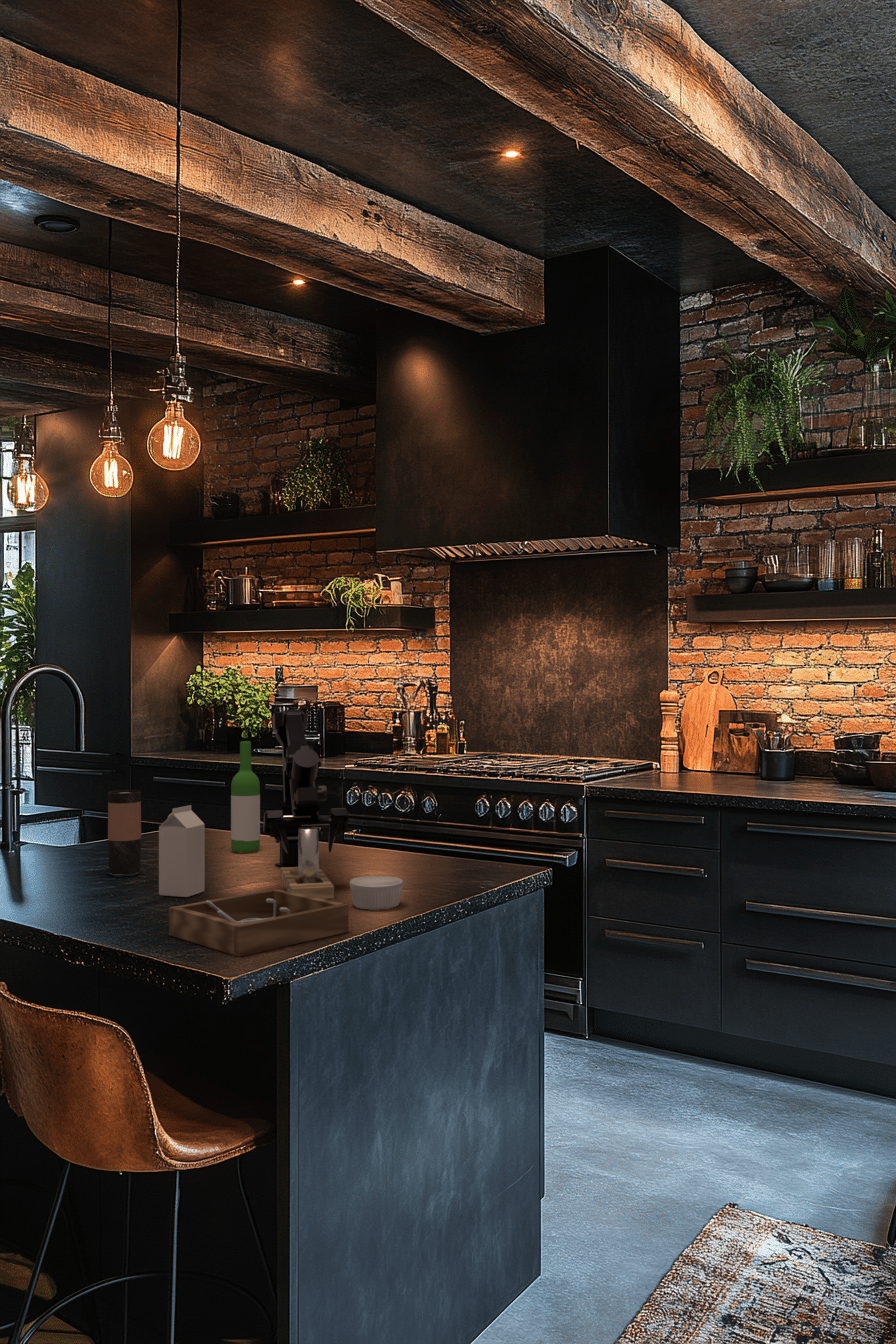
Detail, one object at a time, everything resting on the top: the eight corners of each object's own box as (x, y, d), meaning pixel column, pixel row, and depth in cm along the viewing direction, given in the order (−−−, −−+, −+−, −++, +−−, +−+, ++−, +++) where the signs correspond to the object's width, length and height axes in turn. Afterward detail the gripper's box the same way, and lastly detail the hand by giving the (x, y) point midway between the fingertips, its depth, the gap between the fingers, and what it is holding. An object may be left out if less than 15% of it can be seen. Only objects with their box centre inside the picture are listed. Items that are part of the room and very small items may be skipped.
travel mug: (147, 873, 256) (147, 790, 256) (125, 878, 249) (125, 793, 249) (123, 870, 259) (123, 789, 259) (100, 876, 252) (100, 792, 252)
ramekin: (382, 914, 211) (382, 887, 211) (338, 908, 217) (338, 882, 217) (413, 904, 220) (413, 878, 220) (370, 898, 226) (370, 873, 226)
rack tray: (168, 934, 194) (168, 907, 194) (275, 913, 211) (275, 888, 211) (239, 956, 178) (239, 927, 178) (348, 931, 196) (348, 904, 196)
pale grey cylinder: (294, 893, 231) (294, 829, 232) (306, 889, 235) (306, 826, 235) (310, 894, 229) (310, 830, 230) (322, 891, 233) (322, 827, 233)
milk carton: (204, 891, 233) (204, 805, 233) (186, 898, 226) (186, 809, 227) (177, 889, 235) (177, 804, 236) (158, 896, 229) (158, 808, 229)
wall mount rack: (295, 938, 192) (295, 906, 192) (221, 946, 186) (221, 913, 186) (271, 920, 206) (271, 890, 206) (201, 927, 200) (201, 897, 200)
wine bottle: (236, 849, 292) (236, 740, 292) (263, 849, 291) (263, 740, 291) (226, 853, 284) (226, 742, 284) (254, 854, 283) (254, 742, 283)
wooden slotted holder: (280, 878, 249) (280, 867, 249) (318, 876, 251) (318, 865, 251) (291, 900, 223) (291, 888, 223) (334, 898, 226) (334, 886, 226)
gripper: (264, 774, 234) (268, 831, 223) (347, 772, 238) (355, 827, 228) (261, 805, 241) (265, 862, 231) (342, 803, 246) (350, 858, 235)
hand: (309, 852), depth 231 cm, fingers open, 9 cm apart
